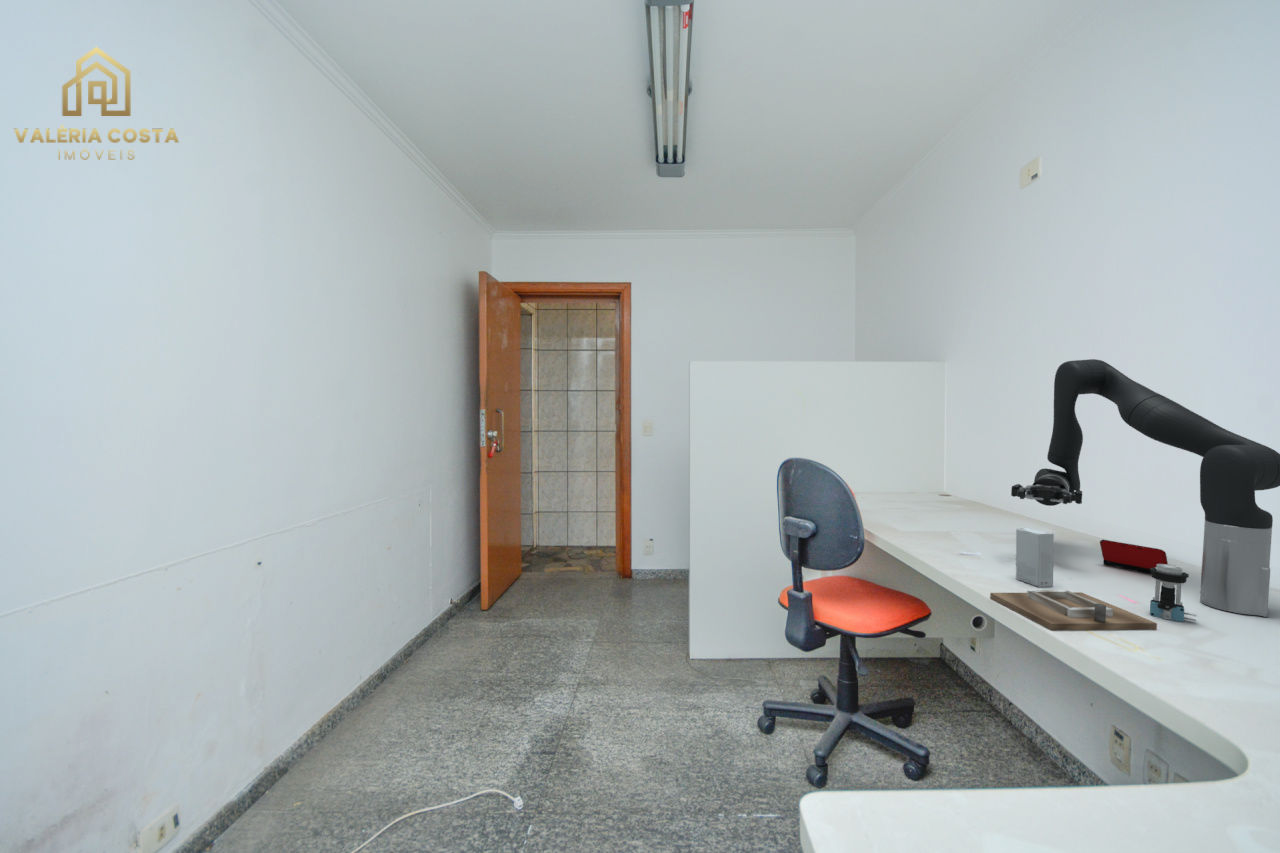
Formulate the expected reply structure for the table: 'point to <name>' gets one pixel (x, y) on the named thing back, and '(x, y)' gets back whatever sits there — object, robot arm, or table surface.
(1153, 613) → the push button
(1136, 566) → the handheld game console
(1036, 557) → the skincare box
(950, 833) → the table surface
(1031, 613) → the keyed plate
